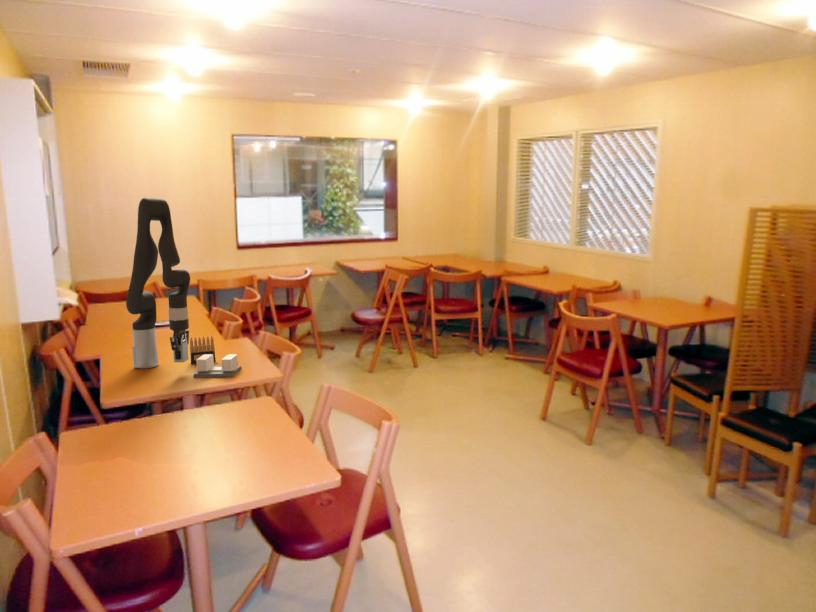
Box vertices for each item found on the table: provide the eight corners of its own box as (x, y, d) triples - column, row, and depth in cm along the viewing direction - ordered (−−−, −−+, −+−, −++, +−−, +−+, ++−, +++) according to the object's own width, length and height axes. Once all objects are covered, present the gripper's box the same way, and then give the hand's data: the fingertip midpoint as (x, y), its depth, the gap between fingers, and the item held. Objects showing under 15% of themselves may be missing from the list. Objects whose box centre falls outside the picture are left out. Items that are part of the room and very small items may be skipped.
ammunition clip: (190, 364, 272) (188, 338, 270) (190, 363, 273) (189, 337, 271) (215, 361, 275) (214, 336, 273) (215, 360, 277) (213, 335, 275)
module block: (174, 362, 251) (172, 343, 250) (179, 359, 256) (178, 340, 255) (183, 362, 251) (182, 343, 249) (188, 359, 256) (187, 340, 254)
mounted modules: (197, 371, 251) (196, 359, 251) (204, 365, 260) (204, 354, 259) (231, 371, 251) (230, 359, 250) (238, 365, 260) (237, 354, 259)
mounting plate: (193, 377, 250) (193, 372, 249) (205, 369, 263) (204, 364, 262) (232, 377, 249) (231, 372, 249) (241, 368, 262) (241, 364, 262)
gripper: (177, 314, 257) (179, 353, 260) (162, 321, 243) (164, 361, 246) (194, 314, 257) (196, 353, 260) (180, 321, 243) (182, 362, 246)
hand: (181, 357), depth 253 cm, fingers closed on module block, 5 cm apart
